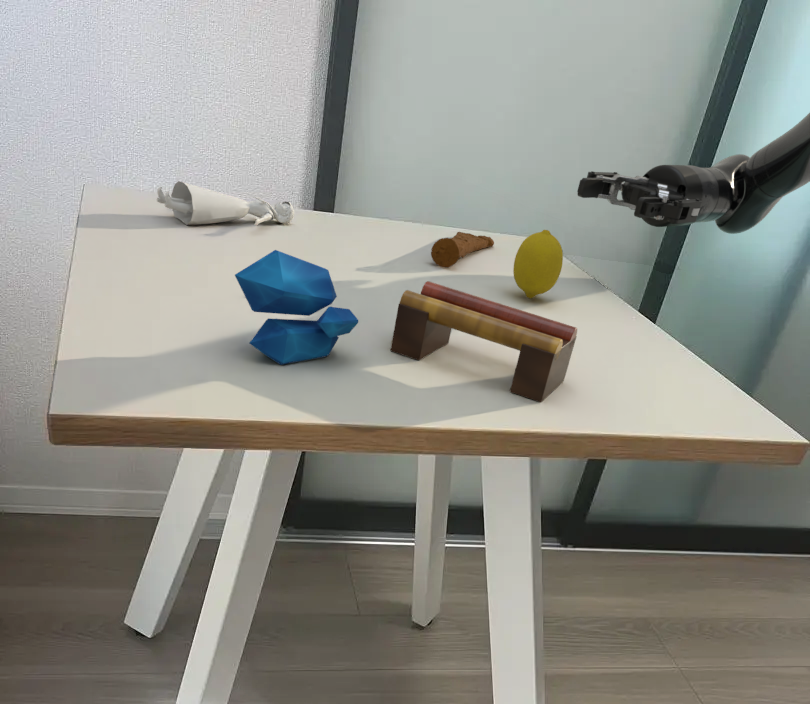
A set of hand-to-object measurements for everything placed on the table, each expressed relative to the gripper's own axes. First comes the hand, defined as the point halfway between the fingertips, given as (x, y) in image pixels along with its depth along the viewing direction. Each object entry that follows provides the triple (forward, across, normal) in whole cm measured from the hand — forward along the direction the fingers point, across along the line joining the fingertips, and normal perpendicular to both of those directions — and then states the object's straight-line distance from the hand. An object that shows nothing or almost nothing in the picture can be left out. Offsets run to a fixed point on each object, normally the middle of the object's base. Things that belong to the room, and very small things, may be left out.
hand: (609, 197), depth 108 cm
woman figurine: (+31, -33, +12) cm, 47 cm away
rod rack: (+35, +13, +11) cm, 39 cm away
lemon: (+11, 0, +12) cm, 16 cm away
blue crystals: (+51, +5, +11) cm, 52 cm away
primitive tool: (+6, -17, +12) cm, 21 cm away
